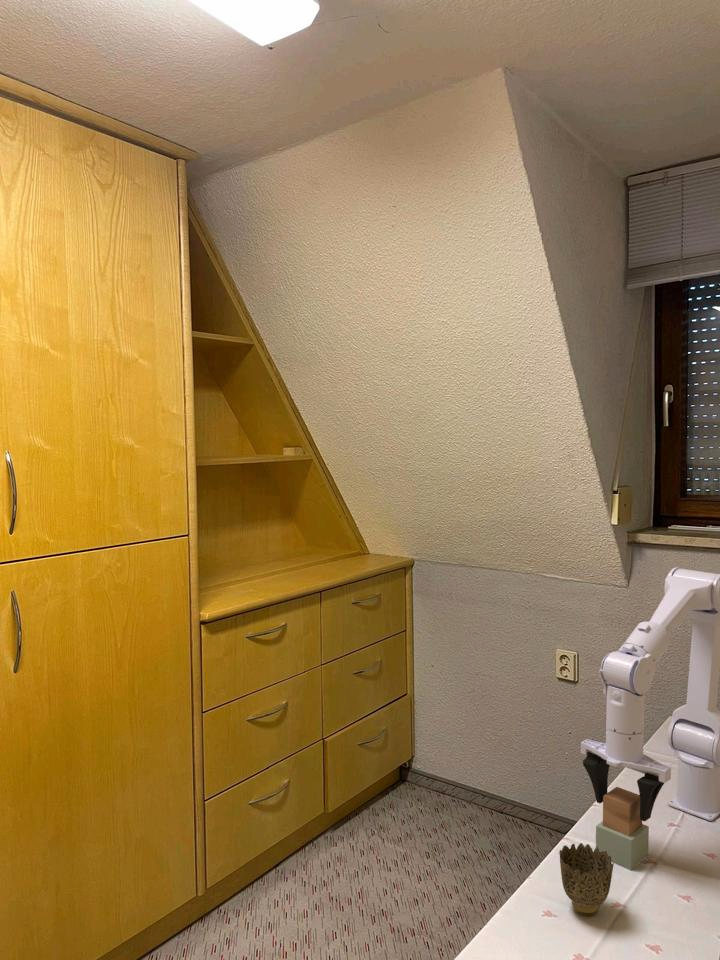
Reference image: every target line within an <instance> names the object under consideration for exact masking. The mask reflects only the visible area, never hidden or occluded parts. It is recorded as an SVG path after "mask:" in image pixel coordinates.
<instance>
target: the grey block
mask: <svg viewBox="0 0 720 960" xmlns="http://www.w3.org/2000/svg"><path fill="white" fill-rule="evenodd" d="M649 828H650V826H648V825H646V824H644V823H642V827H640V828H639V829H638V830H637V831H635V832H634V833H633V834H631V835H630V836H627V835H624V834H622V833H619V832H617V831H614V830H612V829H610V828H607V827H605V826H603V820H602V821H601V822H600V823H598V824H596V826H595V848H596V847H597V846H598V848H599V852H600V853H601V851H604V850H606V851H607V852H608V856H611V863H612V864H613V863H614V864H615V865H617V866H619V867H622V868H624V869H626V870H629V871H632V870H633V869H634V868H635V867H637V866H638V865H639V864H640V863H641V862H642V861H644V860H645V859H646V858H647V857H648V856H649V834H650V833H649Z"/></svg>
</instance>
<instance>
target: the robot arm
mask: <svg viewBox="0 0 720 960" xmlns="http://www.w3.org/2000/svg"><path fill="white" fill-rule="evenodd" d="M687 614H688V615H689V616H690V618H691V620H692V629H691V631H692V633H691V645H690V656H689V668H688V679H687V690H686V691H687V692H686V703H685V704H684V705H681V706H679V707H677V708H675V710H673V711H672V715H671V720H670V724H669V726H668V729H667V742H668V744H669V748H671V749H672V750H674V751H673V753H674V756H675V757H677V778H676V780H677V783H676V784H677V785H676V795H675V796H674V797H673V798H672V799H670V800H669V801H667V805H668V806H669V807H672V808H674V809H677V810H679V811H683V812H685V813H688V814H691V815H693V816H695V817H698V818H701V819H704V820H706V821H713V820H715V819H716V818H717V817H719V815H720V710H719V709H718V708H717V702H718V691H719V681H720V680H719V679H720V573H714V572H706V571H700V570H699V571H698V570H694V569H693V570H692V569H687V568H686V569H685V568H682V567H676V566H675V567H673V568H672V569H671V570H670V571H669V572H668V574H667V575H666V577H665V580H664V596H663V598H662V599H661V601H660V603H659V604H658V606H657V607H656V609H655V611H654V613H653V615H652V616H651V618H650V620H648V621H642V622H640V623H638V624H637V625H636V627H635V628H634V630H632V632H631V633H630V635H629V636H628V637H627V639H626V640H625V641H624V643H622V645H621V647H620V648H619V649H618V651H617V650H615V651H612V652H609V653H607V654H606V655H605V656H604V657H603V659H602V661H601V665H600V668H599V674H598V675H599V680H600V682H601V684H602V690H603V691H602V692H603V696H605V698H606V709H605V711H606V717H605V718H606V719H605V721H606V723H605V742H600V741H595V740H592V739H584V740H583V741H581V742H580V754H582V755H584V756H586V758H584V759H583V760H582V765H583V768H584V769H585V771H586V772H587V774H588V776H589V779H590V781H591V785H592V788H593V791H594V796H595V800H596V803H597V804H603V796H604V795H605V794H607V793H608V782H609V781H608V780H609V779H608V777H609V771H610V767H611V766H612V767H615V768H620V767H624V768H627V769H629V770H633V771H636V772H639V773H640V774H644V776H641V777H640V778H639V779H637V780H636V783H637V788H638V791H639V792H638V793H639V795H640V820H642V822H646V821H648V820H649V819H650V818H651V817H652V812H653V808H654V806H655V802H656V800H657V797H658V795H659V793H660V791H661V790H662V788H663V786H664V784H666V783H667V782H669V781H670V780H671V778H672V777H671V776H672V767H671V766H669V765H666V764H663V763H662V762H660V761H657V760H656V759H654V758H653V757H650V756H648V755H647V754H645V753H644V738H645V737H644V734H645V730H644V728H645V698H646V697H645V696H646V695H645V694H646V693H647V691H649V690H650V689H651V686H652V683H653V680H654V679H653V678H654V675H655V674H656V669H657V667H656V665H657V663H658V662H659V661H660V659H661V657H662V656H663V655H664V654H665V652H666V651H667V650H668V648H669V647H670V644H671V638H670V636H669V634H671V632H672V631H673V630H674V629H675V627H677V626H678V624H679V623H680V622H681V621H682V620H683V619H684V618H685V616H686V615H687Z"/></svg>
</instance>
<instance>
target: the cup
mask: <svg viewBox="0 0 720 960" xmlns="http://www.w3.org/2000/svg"><path fill="white" fill-rule="evenodd" d="M558 854H559V863H560V864H559V865H560V867H559V868H560V873H561V874H560V875H561V883H562V886H563V890H564V892H565V894H566V896H567V897H568V898H569V900H570V901H571V905H572V908H573V910H574V911H575V912H576V913H577V914H579V915H581V916H584V917H593V916H595V915H597V913H598V911H599V907H600V905H602V904H604V903H605V901H606V900H607V898H608V895H609V893H610V889H611V883H612V877H613V871H614V864H615V863H613V862H611V856H608V852H607V851H606V850H604V851H601V853H600V852H599V848H598V846H597V847H596V846H595V848H594V850H593V848H592V847H591V846H590V844H589V843H587V844H586V845H584V844H583V843H582V842H581V843H579V844H578V845H577V847H576V844H575V843H572V844H571V845H570V847H568V845H565V844H564V846H562V848H561V849H560V850H559V853H558Z"/></svg>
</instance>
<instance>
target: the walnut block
mask: <svg viewBox="0 0 720 960" xmlns="http://www.w3.org/2000/svg"><path fill="white" fill-rule="evenodd" d="M602 821H603V826H605V827H607V828H610V829H612V830H614V831H617V832H619V833H622V834H624V835H627V836H630V835H631V834H633V833H634V832H635V831H637V830H638V829H639V828H640V827H642V824H643V821H642V820H640V794H638V793H635V792H632V791H629V790H627V789H624V788H622V787H619V786H615V787H614V788H613V789H611V790H609V791H607V794H605V795H604V796H603V802H602Z"/></svg>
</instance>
